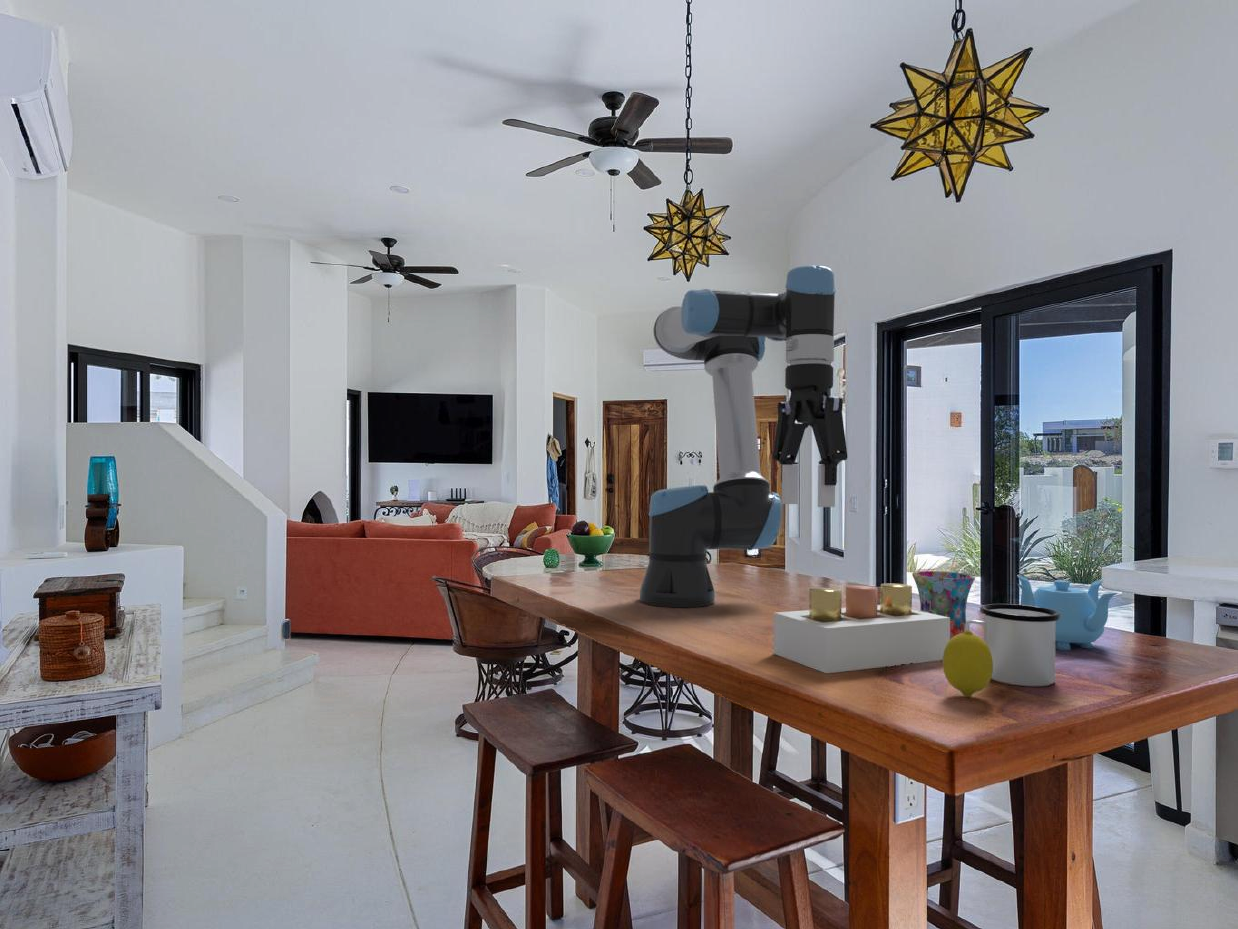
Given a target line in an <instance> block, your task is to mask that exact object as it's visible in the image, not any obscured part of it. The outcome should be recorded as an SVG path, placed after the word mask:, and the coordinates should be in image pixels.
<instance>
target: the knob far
mask: <svg viewBox="0 0 1238 929" xmlns="http://www.w3.org/2000/svg"><path fill="white" fill-rule="evenodd" d="M912 600H913V586H912V585H910V584H903V583H891V582H889V583H886V582H885V583H881V584H880V601H879V605H880V613H882V614H886V615H890V616H894V617H897V616H909V615H912V609H913V605H912V604H913V603H912Z"/></svg>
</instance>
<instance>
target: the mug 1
mask: <svg viewBox="0 0 1238 929" xmlns="http://www.w3.org/2000/svg"><path fill="white" fill-rule="evenodd" d="M912 578H913V579H914V580H913V581H914V582H915V585H916V588H917V591H918V596H919V603H920V604H919V606H920V610H919V611H923V612H927V613H932V614H936V615H940V616H945V617H949V618H950V639H951V638H953V637H954V636H956V635H958V634H961V633H963V632H964V631H965V623H966V622H967V616H966V614H967V613H966V612H967V611H966V610H967V603H968V597H969V594H970V591H971V588H972V587H973V584H974V582H975V580H976V577H975V575H972V574H968V573H964V572H963V573H961V572H954V571H953V572H952V571H939V570H936V571H935V570H922V571H915V572H914V571H913V572H912Z"/></svg>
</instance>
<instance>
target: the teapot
mask: <svg viewBox="0 0 1238 929" xmlns="http://www.w3.org/2000/svg"><path fill="white" fill-rule="evenodd" d="M1016 576H1017V577H1018V579H1019V582H1020V583H1017V586H1018V587H1019V588H1020V589H1021V594H1020V595H1021V596H1020V605H1028V606H1036V607H1042V608H1047V609H1051V610H1055V611H1057V612H1059V613H1060V616H1061V618H1060V619H1059V620H1057V621H1056V632H1055V650H1060V651H1071V650H1072V648H1071V645H1070V644H1071V643H1072V644H1078V647H1081V648H1084V649H1085V648H1086V649H1095V646H1094V645H1093V644H1092V643H1093V642H1094V643H1095V641H1097V640H1098V639H1099V638H1100V637H1101V636H1102V635H1103V634H1104V632H1105V625H1106V624H1107V622H1108V619H1109V618H1108V617H1109V603H1110V601H1111V599H1112V597H1114V596H1116V595H1117V594H1118V592H1109V593H1102V595H1100V596H1099V589H1100V586H1101V585H1102V583H1103V580H1102V579H1099V580H1095V581H1093V582H1092V583H1091V584H1090V586H1089V588H1088V591H1086V590H1084V589H1079V588H1072V587H1070V586H1071V581H1069V580H1061V579H1059V580H1058V579H1057V580H1054V581H1053V583H1054V586H1040V587H1038V588H1037V589H1036V590H1035V591H1033V588H1032V585H1031V582H1030V581H1029V579H1028V578H1026V577H1024V575H1021V574H1017V575H1016Z"/></svg>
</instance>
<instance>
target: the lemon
mask: <svg viewBox="0 0 1238 929" xmlns="http://www.w3.org/2000/svg"><path fill="white" fill-rule="evenodd" d="M942 670H943V674H944V676H945V678H946V681H948V683H949V684H950V686H952V687H953V688H954V689H956V690H958V691H959V692H960V693H961V694H962V695H963V696H964V697H966V698H970V697H972V696H973V695H974V694H975V693H977V692H981V691H982V690H985V688H986V687H987V686H988V685H989V683H990V682H991V680H992V679H991V677H992V673H993V660H992V655H991V652H990V649H989V647H988V645H987V644H986V642H985V641H984V639H983V638H981V637H980V636H978V635H977V634H974V633H973V631H972V630H969V631H968V630H966V631H964V632H963V633H961V634H958V635H956V636H954V637H953V638H951V639H950V640H949V642H948V643H947V645H946V647H945V650H944V655H943V660H942Z"/></svg>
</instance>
